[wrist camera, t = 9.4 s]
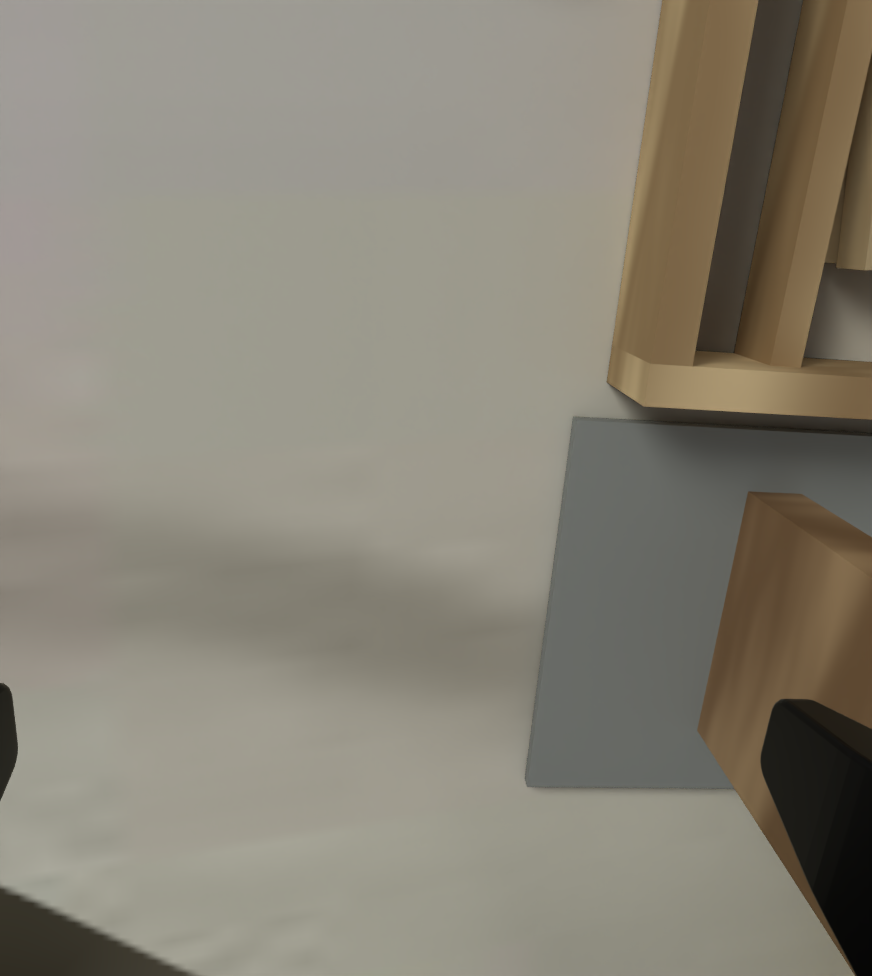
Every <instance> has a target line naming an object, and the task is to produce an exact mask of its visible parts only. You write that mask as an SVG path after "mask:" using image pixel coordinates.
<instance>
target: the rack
mask: <svg viewBox="0 0 872 976" xmlns="http://www.w3.org/2000/svg"><path fill="white" fill-rule="evenodd" d="M757 6H758V0H662V7H661V14H660V21H659V28H658V34H657V41H656V48H655V55H654V62H653V69H652V76H651V82H650V89H649V96H648V103H647V110H646V117H645V124H644V130H643V137H642V144H641V151H640V158H639V165H638V172H637V178H636V185H635V192H634V199H633V206H632V213H631V220H630V226H629V233H628V240H627V247H626V254H625V261H624V268H623V274H622V281H621V288H620V295H619V302H618V309H617V316H616V322H615V329H614V336H613V343H612V350H611V357H610V364H609V370H608V377H607V383H609V384H610V385H612V386H613V387H615V388H616V389H618V390H619V391H621V392H622V393H624V394H625V395H627V396H629V397H630V398H632V399H633V400H635V401H636V402H638V403H639V404H641V405H642V406H644V407H662V408H679V409H696V410H713V411H731V412H748V413H765V414H783V415H800V416H817V417H834V418H852V419H869V420H872V362H862V361H846V360H831V359H816V358H803V356H804V351H805V347H806V342H807V338H808V333H809V329H810V324H811V320H812V316H813V311H814V307H815V302H816V298H817V293H818V289H819V284H820V280H821V276H822V271H823V267H824V262H825V258H826V253H827V249H828V244H829V240H830V236H831V231H832V227H833V222H834V218H835V213H836V209H837V205H838V200H839V196H840V191H841V187H842V182H843V178H844V173H845V169H846V165H847V160H848V156H849V151H850V147H851V142H852V138H853V133H854V129H855V125H856V120H857V116H858V111H859V107H860V102H861V98H862V93H863V89H864V85H865V80H866V76H867V71H868V67H869V62H870V58H871V53H872V0H803V4H802V9H801V14H800V19H799V24H798V29H797V35H796V40H795V45H794V50H793V55H792V60H791V65H790V70H789V75H788V80H787V85H786V91H785V96H784V101H783V106H782V111H781V116H780V121H779V126H778V131H777V136H776V142H775V147H774V152H773V157H772V162H771V167H770V172H769V177H768V182H767V187H766V192H765V198H764V203H763V208H762V213H761V218H760V223H759V228H758V233H757V238H756V243H755V249H754V254H753V259H752V264H751V269H750V274H749V279H748V284H747V289H746V294H745V299H744V305H743V310H742V315H741V320H740V325H739V330H738V335H737V340H736V345H735V350H734V353H724V352H709V351H695V350H696V344H697V339H698V333H699V327H700V322H701V316H702V311H703V305H704V300H705V294H706V289H707V283H708V278H709V272H710V266H711V261H712V255H713V250H714V244H715V239H716V233H717V228H718V222H719V217H720V211H721V205H722V200H723V194H724V189H725V183H726V178H727V172H728V167H729V161H730V155H731V150H732V144H733V139H734V133H735V128H736V122H737V117H738V111H739V106H740V100H741V94H742V89H743V83H744V78H745V72H746V67H747V61H748V56H749V50H750V45H751V39H752V33H753V28H754V22H755V17H756V11H757Z"/></svg>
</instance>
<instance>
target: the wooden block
mask: <svg viewBox="0 0 872 976" xmlns="http://www.w3.org/2000/svg"><path fill="white" fill-rule="evenodd" d="M780 699H809V700H814V701H816V702H818V703H820V704H822V705H824V706H826V707H828V708H830V709H832V710H834V711H836V712H838V713H840V714H842V715H844V716H847V717H849V718H851V719H853V720H855V721H857V722H859V723H861V724H863V725H865V726H867V727H869V728H871V729H872V537H871V536H869V535H867V534H866V533H864V532H862V531H861V530H859V529H858V528H856V527H854V526H853V525H851V524H850V523H848V522H846V521H845V520H843V519H841V518H840V517H838V516H837V515H835V514H833V513H832V512H830V511H829V510H827V509H825V508H824V507H822V506H820V505H819V504H817V503H816V502H814V501H812V500H811V499H809V498H807V497H806V496H804V495H803V494H794V493H772V492H751V491H748V494H747V499H746V503H745V508H744V513H743V518H742V522H741V527H740V532H739V536H738V541H737V546H736V550H735V555H734V560H733V564H732V569H731V574H730V578H729V583H728V588H727V592H726V597H725V602H724V607H723V611H722V616H721V621H720V625H719V630H718V635H717V639H716V644H715V649H714V653H713V658H712V663H711V667H710V672H709V677H708V682H707V686H706V691H705V696H704V700H703V705H702V710H701V714H700V719H699V724H698V728H697V731H698V733H699V734H700V736H701V737H702V739H703V740H704V742H705V744H706V745H707V747H708V748H709V750H710V751H711V753H712V754H713V756H714V758H715V759H716V761H717V762H718V764H719V765H720V767H721V768H722V770H723V771H724V773H725V775H726V776H727V778H728V779H729V781H730V782H731V784H732V785H733V787H734V789H735V790H736V792H737V793H738V795H739V796H740V798H741V799H742V801H743V802H744V804H745V806H746V807H747V809H748V810H749V812H750V813H751V815H752V816H753V818H754V820H755V821H756V823H757V824H758V826H759V827H760V829H761V830H762V832H763V833H764V835H765V837H766V838H767V840H768V841H769V843H770V844H771V846H772V847H773V849H774V850H775V852H776V854H777V855H778V857H779V858H780V860H781V861H782V863H783V864H784V866H785V868H786V869H787V871H788V872H789V874H790V875H791V877H792V878H793V880H794V881H795V883H796V885H797V886H798V888H799V889H800V891H801V892H802V894H803V895H804V897H805V899H806V900H807V902H808V903H809V905H810V906H811V908H812V909H813V911H814V912H815V914H816V916H817V917H818V919H819V920H820V922H821V923H822V925H823V926H824V928H825V930H826V931H827V933H828V934H829V936H830V937H831V939H832V940H833V942H834V943H835V945H836V947H837V948H838V950H839V951H840V953H841V954H842V956H843V957H844V959H845V961H846V962H847V964H848V965H849V967H850V968H851V970H852V971H853V969H852V967H851V965H850V963H849V962H848V960H847V958H846V956H845V954H844V952H843V950H842V948H841V947H840V945H839V943H838V941H837V939H836V937H835V935H834V933H833V932H832V930H831V928H830V926H829V924H828V922H827V920H826V919H825V917H824V915H823V913H822V911H821V909H820V907H819V905H818V903H817V901H816V899H815V897H814V895H813V893H812V891H811V889H810V887H809V884H808V882H807V880H806V878H805V876H804V873H803V871H802V869H801V866H800V864H799V861H798V859H797V857H796V854H795V852H794V849H793V847H792V845H791V842H790V840H789V837H788V835H787V833H786V830H785V828H784V825H783V823H782V821H781V818H780V816H779V813H778V811H777V809H776V806H775V804H774V801H773V799H772V797H771V794H770V792H769V789H768V787H767V785H766V782H765V780H764V777H763V774H762V770H761V763H760V758H761V751H762V747H763V743H764V739H765V735H766V731H767V727H768V723H769V719H770V715H771V711H772V708H773V706H774V704H775V703H776V702H777V701H779V700H780ZM853 973H854V971H853ZM854 974H855V973H854ZM855 976H856V975H855Z"/></svg>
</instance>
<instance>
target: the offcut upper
mask: <svg viewBox="0 0 872 976" xmlns="http://www.w3.org/2000/svg"><path fill="white" fill-rule="evenodd" d="M836 268H843V269H854V270H872V53H871V58H870V62H869V67H868V71H867V76H866V80H865V85H864V89H863V93H862V98H861V102H860V107H859V111H858V116H857V120H856V125H855V129H854V133H853V138H852V142H851V147H850V152H849V161H848V170H847V178H846V187H845V196H844V205H843V213H842V222H841V231H840V240H839V248H838V257H837V266H836Z"/></svg>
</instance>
